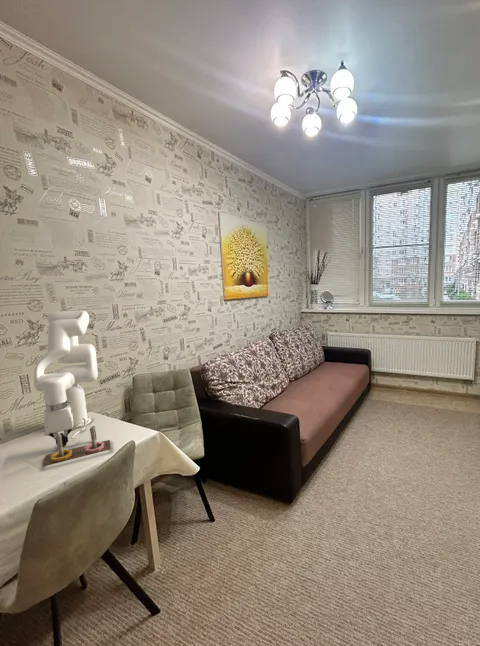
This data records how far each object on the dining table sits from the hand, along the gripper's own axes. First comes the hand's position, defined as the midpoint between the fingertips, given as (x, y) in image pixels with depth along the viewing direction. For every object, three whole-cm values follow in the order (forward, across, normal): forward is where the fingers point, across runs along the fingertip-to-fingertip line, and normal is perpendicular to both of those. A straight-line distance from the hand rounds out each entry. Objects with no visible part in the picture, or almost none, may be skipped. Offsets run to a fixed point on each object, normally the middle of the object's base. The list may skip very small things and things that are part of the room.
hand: (62, 444), depth 137 cm
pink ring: (+2, -12, +5) cm, 13 cm away
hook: (+3, -4, -12) cm, 13 cm away
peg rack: (+3, -6, +8) cm, 10 cm away
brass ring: (+2, 0, +5) cm, 6 cm away
